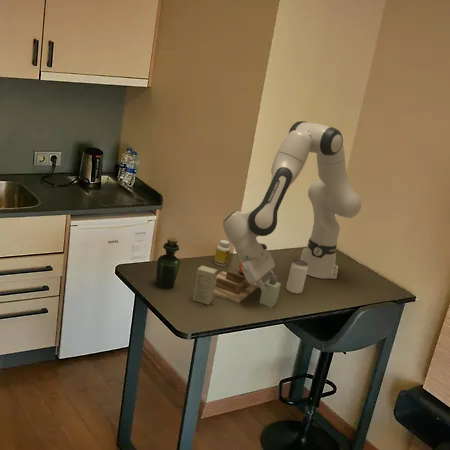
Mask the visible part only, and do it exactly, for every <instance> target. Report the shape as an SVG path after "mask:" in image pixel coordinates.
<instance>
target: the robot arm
mask: <svg viewBox="0 0 450 450" xmlns="http://www.w3.org/2000/svg"><path fill="white" fill-rule="evenodd" d="M310 153H311V154H312V153H313V154H314V153H315V154H316V163H317V165H316V166H317V175H318V177H319V180H318V179H317V180H314V181H313V182H312V183H311V184H310V185H309V188H308V190H307V196H308V199H309V200H310V203H311V206H312V209H313V225H312V231H311V235H310V237H309V239H308V242H307V247H304V248H303V250H302V252H301V255H300V258H299V260H302V261H305V262H307V263H308V265H307V266H308V271H307V275H308V276H311V277H312V278H317V279H331V280H336V279H337V278H338V271H339V265H337V264H336V262H337V261H336V258H337V254H336V252H337V247H338V246H337V244H338V238H339V234H340V230H341V227H340V224H339V222H338V220H337V219H336V218H337V217H336V215H337V216H339V217H343V218H346V219H347V218H349V219H352V218H355V216H357V215H358V214H359V213H360V211H361V208H362V199H361V197H359V195H358V194H357V193H356V191H355V190H354V189H353V186H352V184H351V182H350V180H349V178H348V174H347V166H346V155H345V147H344V138H343V134H342V132H341V130H339V129H337V128H335V127H333V126H332V127H331V126H328V125H325V124H323V123H322V124H321V123H315V122H309V121H303V120H300V121H299V120H298V121H296V122H295V123H294V124H292V125H291V127H290V128H289V130H288V134H287V135H286V137H285V138H284V140H283V141H282V143H281V145H280V146H279V148H278V150H277V152H276V154H275V156H274V159H273V162H272V165H271V168H270V171H271V180H270V183H269V186H268V188H267V191H266V193H265V195H264V197H263V199H262V201H261V203H260V204H259V205H258V206H257V207H256V208H255V209H253V210H246V211H244V210H243V211H240V210H235V211H233V212H231V213H230V214H229V215H228V216H227V217H225V218H224V220H223V222H222V228H223V231H224V233H225V235H226V237H227V239H228V240H229V242H230V243H231V244H232V246H233V247H234V250H235V253H236V255H237V257H239V259H240V260H239V261H241V269H242V271H243V273H242V274H243V276H245V278H246V280H247V282H248V283H249V284H252V283H256V285H257V286H259V287H258V288H260V290H261V292H262V291H265V290H266V289H267V287H266V285H264V282H263V280H262V278H263V277H264V276H265V275H267V276H268V279H270V277H271V275H272V274H274V271H273V269H274V268H275V267H276V264H275V261H274V259H273V256H272V255H271V253H270V252H269V251H268V247H267V246H268V245H266V243H261V242H258V240H257V238H258V237H266V236H270V234H272V233H273V232H274V231H275V229H276V228H277V225H278V224H277V223H278V212H279V208H280V206H281V205H282V202H283V200H284V197H285V195H286V193H287V191H288V190H289V187H290V186H291V185H292V184H293V183H294V182H295V181H296V180H297V178H298V176H300V174H301V173H302V171H303V168H304V166H305V164H306V163H307V162H306V161H307V159H308V157H309V154H310ZM274 275H275V274H274ZM307 275H306V276H307Z"/></svg>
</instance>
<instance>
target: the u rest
mask: <svg viewBox="0 0 450 450" xmlns="http://www.w3.org/2000/svg"><path fill="white" fill-rule="evenodd" d="M258 288H260V287H259V286H257V285H256V283H255V282H254V283H252V284H249V283H248V282H247V280H246V278H245V276H244V275H242V274H239V273H235V272H233V271H230V270H228V271H227V272H225V271H221V272H219V273H217V277H216V283H215V288H214V294H213V295H216V296H218V297H220V298H223V299H226V300H229V301H232V302H234V303H237V304H241V302H242V301H244V300H245V299H246V298H247V297H248V296H250V295H251V294H252V293H253V292H255V291H256V290H257V289H258Z"/></svg>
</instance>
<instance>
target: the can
mask: <svg viewBox="0 0 450 450" xmlns="http://www.w3.org/2000/svg"><path fill="white" fill-rule="evenodd" d="M307 265H308V263H307V262H305V261H302V260H300V259H294V260H293V262H292V263H291V266H290V270H289V275H288V277H287V278H288V279H287V283H286V287H285V288H286V290H287V291H288V292H289V293H291V294H294V293H295V295H300V294H302V293H303V290H304V287H305V282H306V278H307V271H308V266H307ZM299 293H300V294H299Z"/></svg>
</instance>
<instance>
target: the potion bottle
mask: <svg viewBox="0 0 450 450" xmlns="http://www.w3.org/2000/svg"><path fill="white" fill-rule="evenodd" d="M178 241H179V239H177V238H176V237H172V236H171V237H167V242H165V243H164V244H163V246H162V248H163V249H164V250H165V254H162V255H161V254H160V256H159V257H158V258H157V264H156V265H157V266H156V278H155V284H156V286H157V287H159V288H161V289H164V290H165V289H167V290H169V289H172V288H173V287H174V286H175V282H176V279H177V276H178V272H179V268H180V264H181V261H180V259H179V258H178V257H177V256H175V254H176V252H179V251H180V246H179V244H178Z"/></svg>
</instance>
